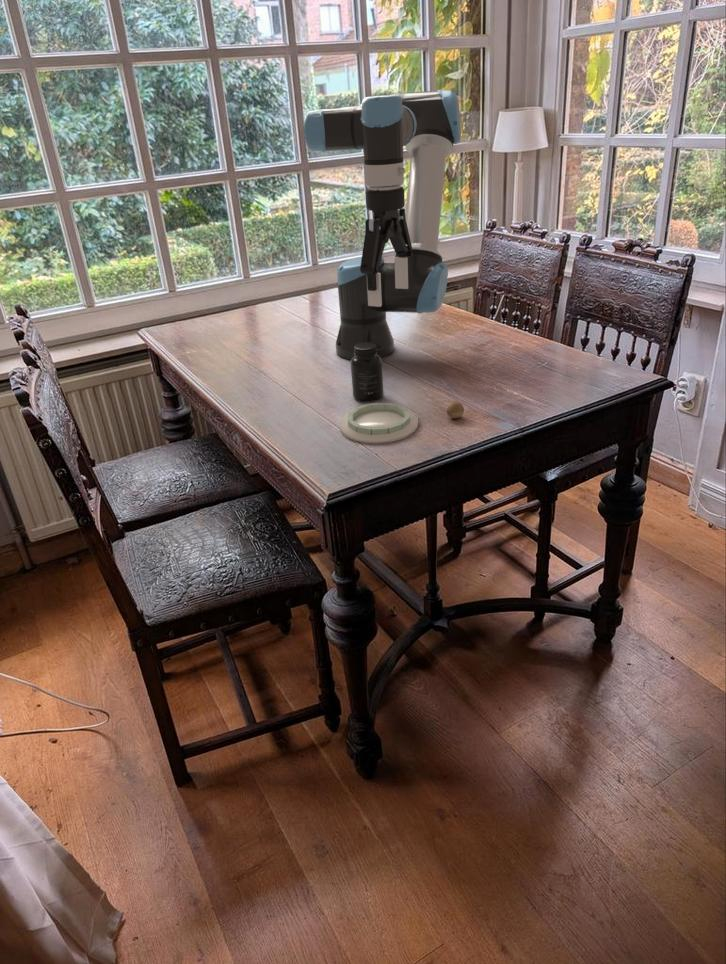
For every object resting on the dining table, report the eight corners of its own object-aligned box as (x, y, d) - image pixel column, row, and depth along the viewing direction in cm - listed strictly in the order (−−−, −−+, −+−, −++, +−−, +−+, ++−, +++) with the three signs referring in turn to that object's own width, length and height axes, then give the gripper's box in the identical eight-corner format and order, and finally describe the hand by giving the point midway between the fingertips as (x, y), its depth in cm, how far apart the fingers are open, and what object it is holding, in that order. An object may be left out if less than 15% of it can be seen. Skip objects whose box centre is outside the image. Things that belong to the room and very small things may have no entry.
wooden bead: (443, 419, 139) (444, 404, 138) (450, 413, 142) (450, 397, 140) (459, 422, 138) (460, 406, 136) (466, 415, 140) (466, 400, 139)
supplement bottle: (351, 392, 155) (348, 341, 149) (381, 389, 155) (379, 338, 149) (354, 404, 149) (350, 351, 143) (385, 401, 149) (382, 349, 143)
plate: (325, 434, 137) (324, 425, 135) (363, 404, 148) (362, 394, 147) (396, 449, 130) (396, 439, 128) (430, 415, 141) (430, 406, 140)
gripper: (374, 197, 120) (380, 315, 131) (426, 178, 139) (427, 282, 150) (337, 197, 124) (345, 312, 134) (393, 178, 143) (396, 280, 153)
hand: (388, 296), depth 142 cm, fingers open, 13 cm apart
